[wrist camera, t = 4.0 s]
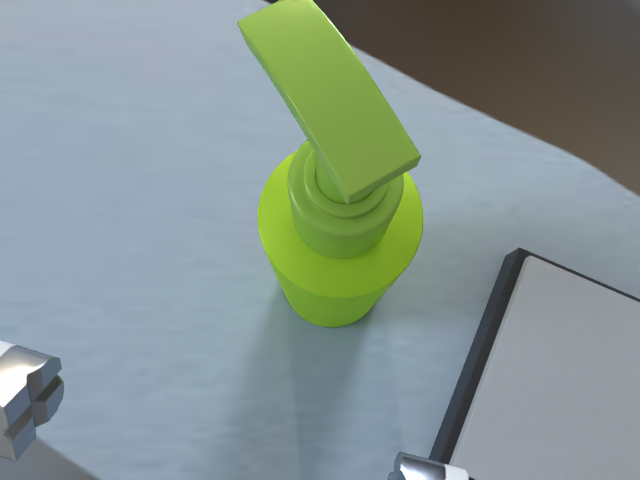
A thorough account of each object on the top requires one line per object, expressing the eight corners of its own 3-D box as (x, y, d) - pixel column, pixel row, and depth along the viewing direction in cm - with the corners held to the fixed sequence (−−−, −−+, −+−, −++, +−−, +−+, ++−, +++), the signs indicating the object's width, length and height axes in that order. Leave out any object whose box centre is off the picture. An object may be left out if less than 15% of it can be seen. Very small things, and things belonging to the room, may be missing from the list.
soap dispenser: (339, 200, 32) (371, -61, 12) (398, 296, 30) (541, 167, 11) (257, 246, 31) (154, 44, 12) (313, 346, 30) (304, 305, 10)
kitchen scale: (655, 574, 27) (696, 599, 24) (426, 462, 28) (439, 473, 25) (715, 346, 30) (758, 343, 27) (505, 255, 31) (525, 243, 28)
